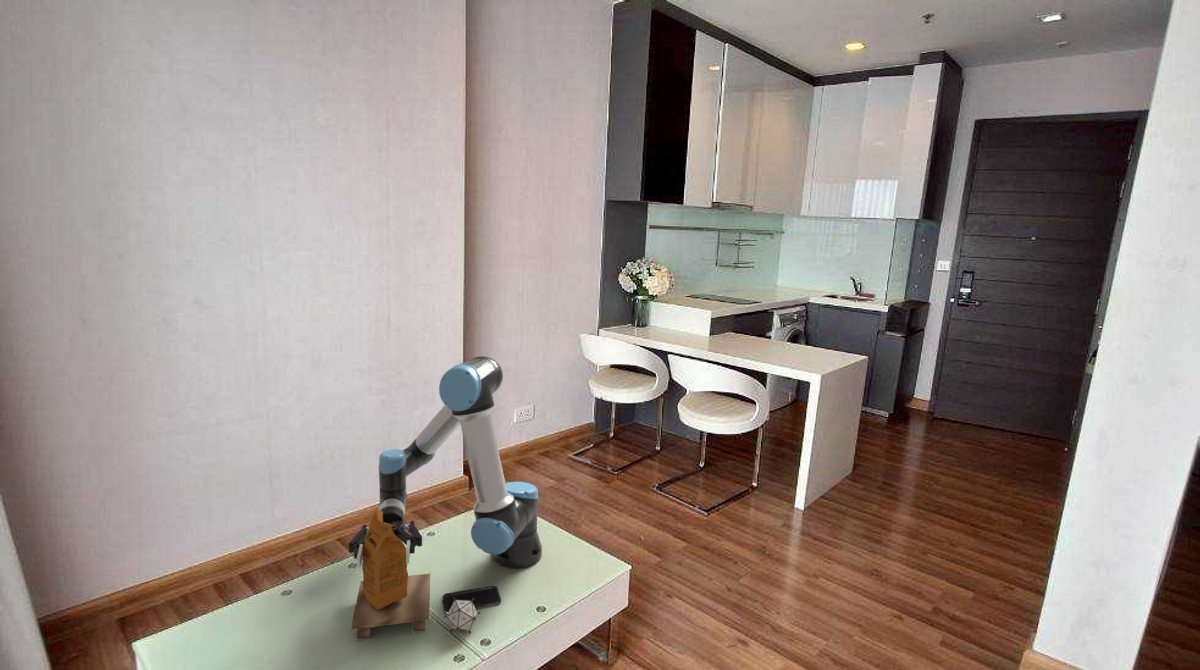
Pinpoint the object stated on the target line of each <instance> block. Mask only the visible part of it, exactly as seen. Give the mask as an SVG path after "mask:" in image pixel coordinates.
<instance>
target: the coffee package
mask: <svg viewBox="0 0 1200 670" xmlns="http://www.w3.org/2000/svg"><path fill="white" fill-rule="evenodd" d="M368 527H369V528H368V531H367V534H366V538H365V543H364V550H363V558H362V562H361V566H362V575H363V579H362V581H363V588H364V593H365V596H366V599H367V600H368V602H369V603H370V604H371V605H373V606H374V607H375V608H376V609H382V608H383V607H385V606H387V605H389V604H391V603H393V602H395V601H399V600H401V599H403V598H404V597H406V596H407V582H408V576H409V572H408V563H407V564H406V548H407V546H406V544H405V543H403V542H402V541H401V540H400V539H399V538H398V537H397V536H396V535H395V534H394V533H393V530H396V526H395V525H392V524H388V523H385V522H383V513H382V511H381V510H379V509H378V508H377V509H375V510H374V512H373V515H372V517H371V521H370V524H369V526H368Z"/></svg>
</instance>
